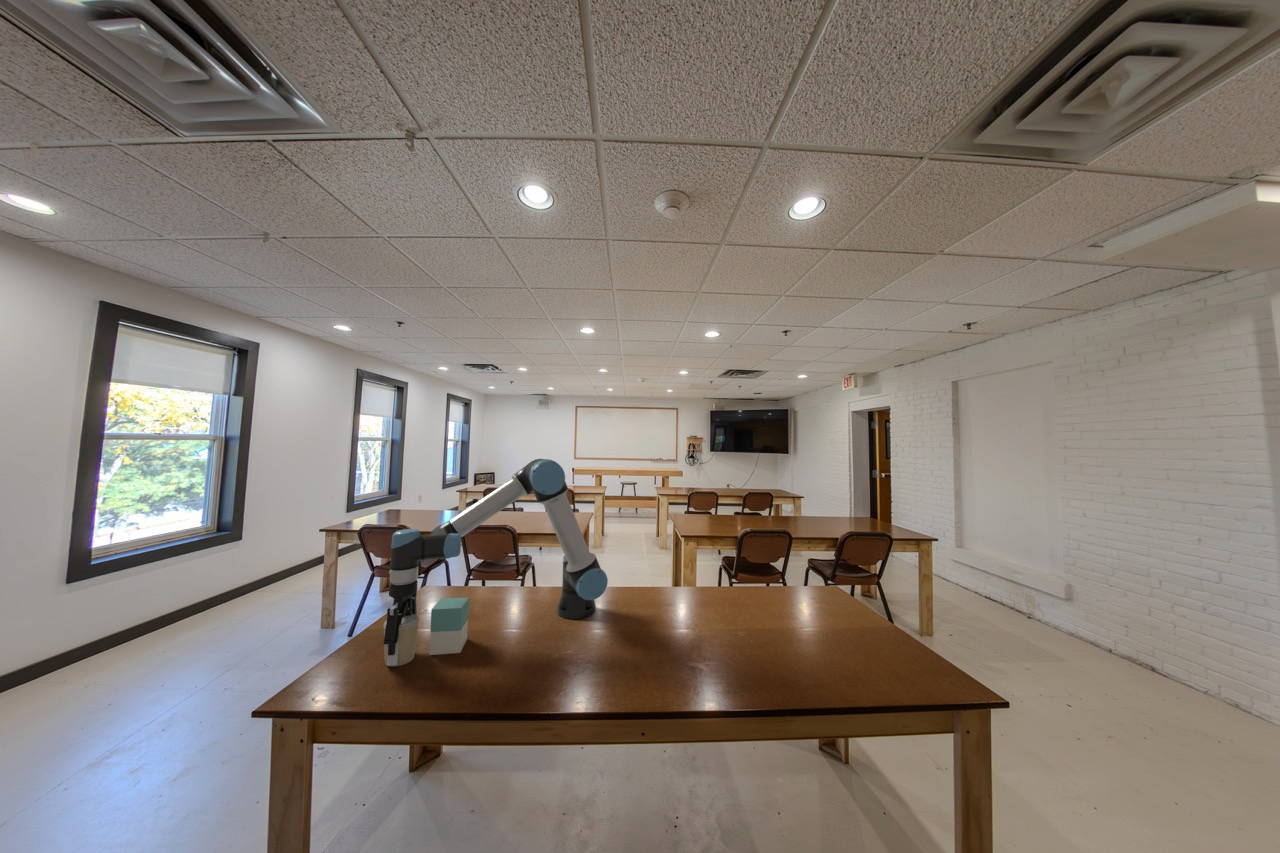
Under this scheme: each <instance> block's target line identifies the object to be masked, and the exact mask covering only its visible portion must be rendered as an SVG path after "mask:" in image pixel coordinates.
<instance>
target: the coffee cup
mask: <svg viewBox="0 0 1280 853" xmlns="http://www.w3.org/2000/svg"><path fill="white" fill-rule="evenodd" d="M419 621H420V617H419V616H418V614H417V615H416V614H411V616H404V617H403V618H402V623H401V625H399V636H398V640H397V641H399V651H398V664H397V665H393V666H392V667H399V666H403V665H406V664H408V663H410V662H412V661H413V660H414V658H415V653H416V647H417V638H418V637H417V636H418V629H419ZM386 623H387V619H386V620H385V621H384V623H383V638H384V637H385V630H386ZM383 647H384V648H383V649H384V652H383V653H384V663H385V666H387V652H388V644H385V645H384V644H383Z"/></svg>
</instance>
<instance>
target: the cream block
mask: <svg viewBox="0 0 1280 853" xmlns="http://www.w3.org/2000/svg"><path fill="white" fill-rule="evenodd" d="M468 622H469V619H468V620H467V621H466V623H465V625H464V626H463V628H462V629H461V631H442V632H430V638H429V639H430V641H429V642H430V643H429V656H432V655H433V656H434V655H449V654H460V653H461V652H462V651H463V648H464V646H465V644H466V642H467V640H468Z"/></svg>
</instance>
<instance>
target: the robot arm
mask: <svg viewBox="0 0 1280 853" xmlns="http://www.w3.org/2000/svg"><path fill="white" fill-rule="evenodd" d="M568 491H569V488H568V485H567V482H566V474H565V471H564V468H563V467H562V465H560V463H558V462H557V461H555V460H552V459H548V458H546V459H545V458H537V459H534V460H531V461H530V462H529V463H528V464H526V465H525V466H523V467H522V468H521V469H519V470H518V471H517V472H516V473H514V474H512V476H511V479H509V480H508V481H507V482H505V483H504V484H502V485H500V486H499V487H497V488H495V489H494V490H493V491H491V492H490V493H488V494H487V495H485V496H484V497H482V498H480V499H479V500H477V501H476V502H475V503H473V504H471V505H470V506H469V507H467V508H465V509H464V510H463V511H461V512H459V513H458V514H456V515H455V516H453V517H452V518H451V519H449V520H448V521H446V522H445V523H443V524H440V525H438V526H435V527H434V529H433V530H432V531H431V532H430V534H429V535H421V531H420V530H419V529H417V528H404V529H399V530H397V531H395V532H393V534H392V535H391V536H392V537H391V546H390V568H389V569H390V570H389V571H388V574H389V582H390V583H389V586H388V596H389V597H390V598H392V599H393V602H392V607H388V608H387V610H386V614H387V618H386V620H387V623H386V630H385V637H384V636H383V646H384V645H385V644H388V652H387V665H386V666H387V667H394V666H393V665H397V664H398V651H399V641H397V640H398V636H399V625H401V623H402V618H403V617H404V616H411V614H416V615H417V616H418V614H417V594H418V593H417V592H418V581H419V580H418V578H419V561H427V560H429V561H430V560H438V559H439V560H440V559H441V560H442V559H447V560H448V559H451V558H457V557H459V556H460V554H461V548H462V538H463V537H464V536H466V535H467V534H469V533H470V532H472V531H473V530H475V529H476V528H477V527H479V526H480V525H482V524H483V523H485V522H487V521H488V520H489V519H490V518H492V517H493V516H495V515H497V514H498V513H499V512H501V511H503V510H504V509H505V508H506V507H508V506H510V505H511V504H513V503H514V502H515V501H517V500H519V499H520V498H521V497H523V496H530V494H531V493H533V494H534V497H535V499H536V501H537V503H538V504H541V505H543V506H544V509H545V511H546V513H547V516H548V518H549V521H550V523H551V526H552V528H553V530H554V533H555V535H556V537H557V539H558V542H559V545H560V547H561V549H562V553H563V554H564V555H563V560H562V585H561V586H562V591H561V595H560V597H559V599H558V600H559V601H558V604H557V607H556V611H557V612H556V614H557V615H558V616H559V617H561V618H564V619H569V620H579V619H585V618H588V616H589V617H590V615H591V616H592V614H593V613H594V612H596V602H595V600H597V599H599V598H600V597H601V596H602V595H603V594H604V593H605V592H606V589H607V586H608V582H609V581H608V580H609V579H608V576H607V573H606V572H605V570H603V569H602V568H601V565H600V563H599V560H598V558H597V556H596V554H595V553H594V552H593V553H592V552H591V551H590V550H589V547H588V545H587V543H586V540H585V537H584V535H583V533H582V531H581V528H580V525H579V523H578V520H577V518H576V516H575V514H574V510H573V508H572V505H571V503H570V501H569V498H568V496H567V493H568ZM594 614H595V613H594ZM594 614H593V615H594Z"/></svg>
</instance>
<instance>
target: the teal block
mask: <svg viewBox="0 0 1280 853" xmlns="http://www.w3.org/2000/svg"><path fill="white" fill-rule="evenodd" d="M469 603H470V597H448V598H447V597H446V598H440V599H439V600H438V601H437V602H436V604H435V605H434V606H433V607H432V608H431V610H430V611H431V612H430V614H431V615H430V633H431V632H442V631H461V629H462V628H463V626H464V625H465V623H466V621H467V620H468V621H469V611H470V604H469Z"/></svg>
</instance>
